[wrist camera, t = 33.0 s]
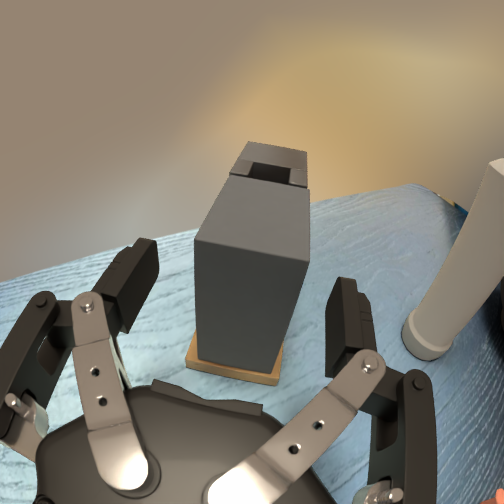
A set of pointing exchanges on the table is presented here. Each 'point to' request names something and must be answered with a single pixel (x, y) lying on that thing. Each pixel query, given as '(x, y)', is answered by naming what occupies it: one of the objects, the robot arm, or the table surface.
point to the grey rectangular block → (250, 271)
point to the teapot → (496, 498)
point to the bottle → (462, 273)
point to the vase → (503, 298)
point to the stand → (273, 170)
